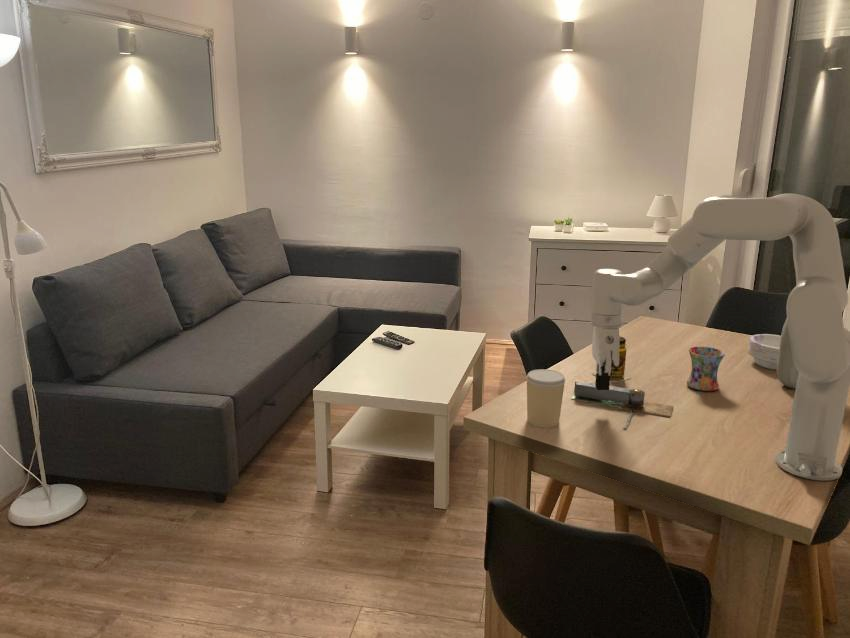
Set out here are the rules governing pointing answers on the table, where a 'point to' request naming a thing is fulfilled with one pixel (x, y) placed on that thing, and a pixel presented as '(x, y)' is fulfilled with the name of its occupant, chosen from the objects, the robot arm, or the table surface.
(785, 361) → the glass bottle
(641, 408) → the plate
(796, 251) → the robot arm
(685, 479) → the table surface
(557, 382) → the coffee cup
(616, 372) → the condiment
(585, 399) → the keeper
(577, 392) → the swing bar
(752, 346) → the paper bowls
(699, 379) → the mug
